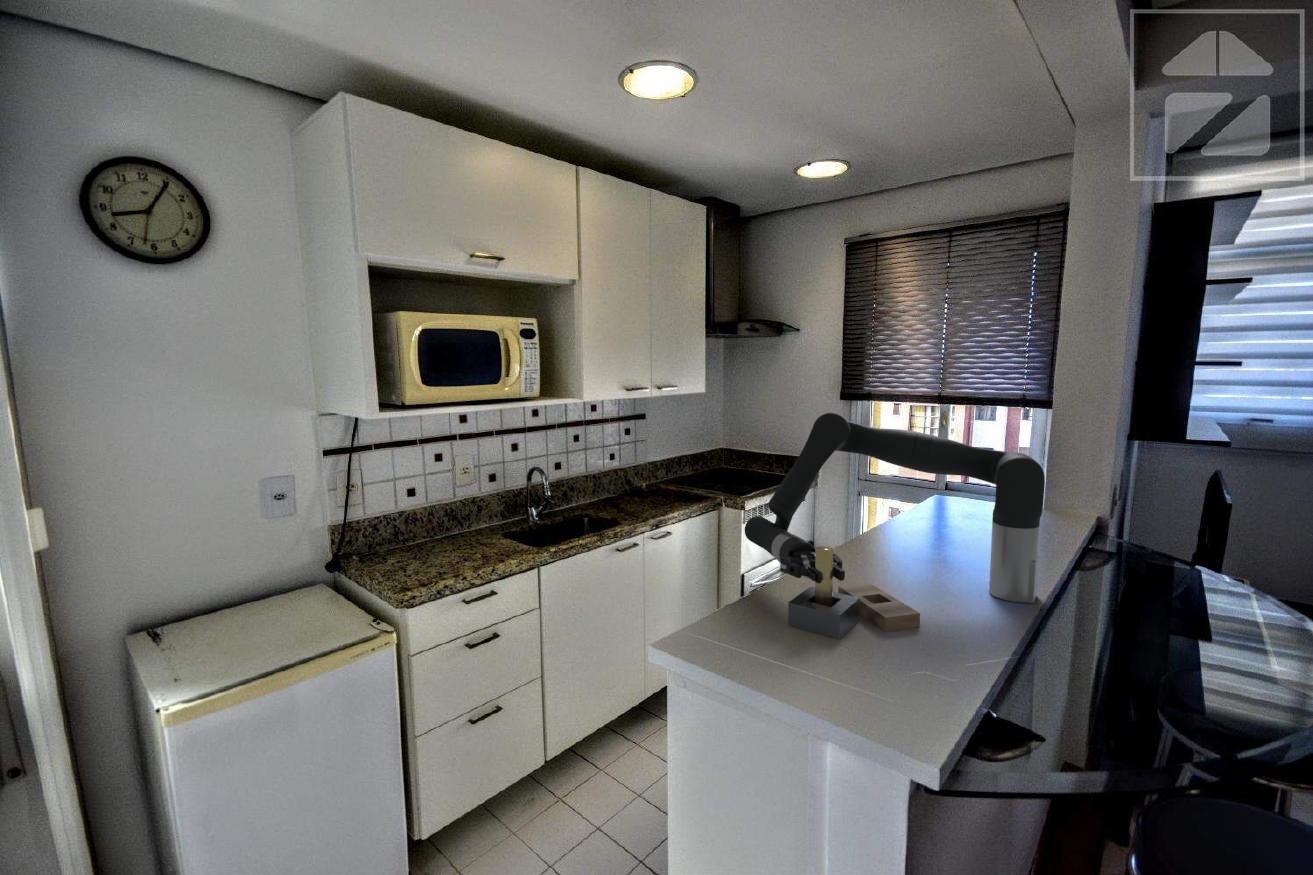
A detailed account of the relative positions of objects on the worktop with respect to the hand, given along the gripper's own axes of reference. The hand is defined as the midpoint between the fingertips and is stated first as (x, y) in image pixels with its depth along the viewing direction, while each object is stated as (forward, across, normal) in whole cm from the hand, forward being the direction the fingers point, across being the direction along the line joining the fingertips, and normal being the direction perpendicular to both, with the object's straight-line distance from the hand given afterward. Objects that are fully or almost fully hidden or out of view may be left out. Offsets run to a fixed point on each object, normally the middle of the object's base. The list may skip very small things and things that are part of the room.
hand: (831, 577), depth 117 cm
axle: (-3, 0, +11) cm, 11 cm away
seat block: (-3, 0, +11) cm, 11 cm away
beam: (-5, +14, +11) cm, 18 cm away
